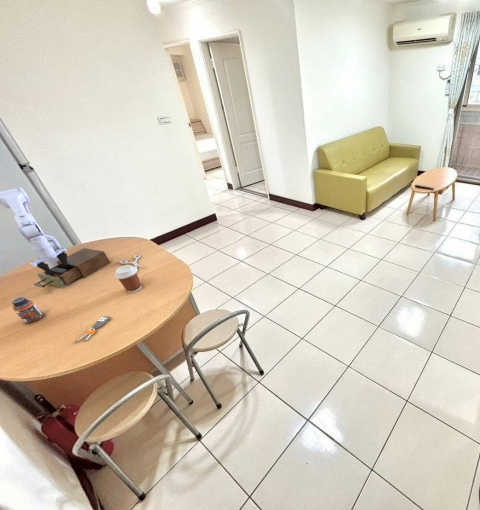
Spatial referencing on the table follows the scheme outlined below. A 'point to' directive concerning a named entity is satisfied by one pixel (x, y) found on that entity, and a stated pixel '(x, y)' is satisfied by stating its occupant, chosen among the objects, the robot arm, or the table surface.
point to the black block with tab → (58, 271)
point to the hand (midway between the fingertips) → (58, 270)
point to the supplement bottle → (26, 310)
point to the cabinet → (87, 261)
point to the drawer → (56, 281)
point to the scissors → (132, 262)
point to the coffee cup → (128, 278)
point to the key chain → (96, 326)
